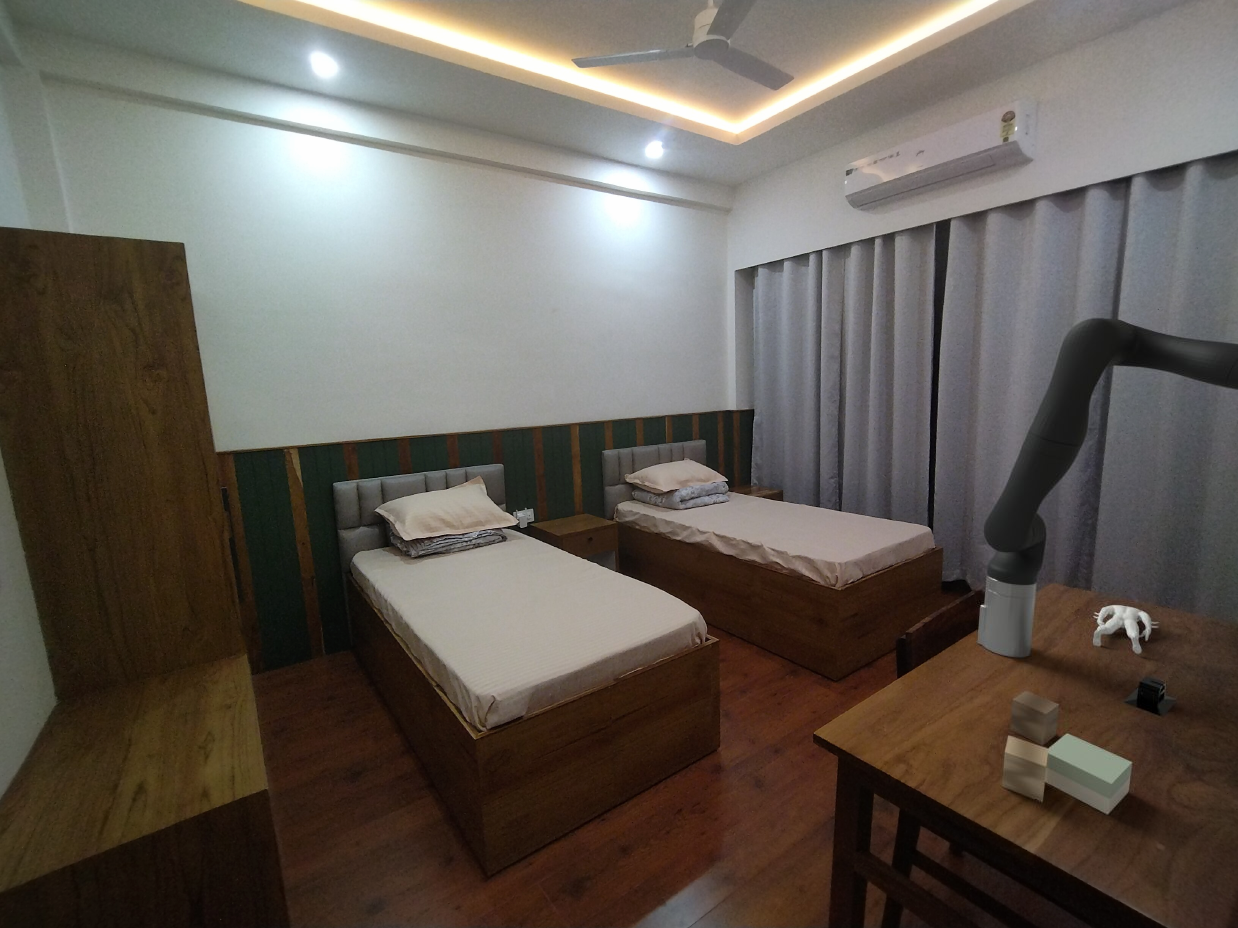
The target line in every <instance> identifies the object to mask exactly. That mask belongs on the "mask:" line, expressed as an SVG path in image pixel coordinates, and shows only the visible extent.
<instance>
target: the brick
mask: <svg viewBox="0 0 1238 928" xmlns="http://www.w3.org/2000/svg"><path fill="white" fill-rule="evenodd" d="M1006 740H1007V741H1006V744H1005V745H1006V746H1005V749H1004V756H1003V768H1002V781H1001V787H1003V788H1005V789H1006V790H1007V789H1008V790H1010V791H1012V792H1015V793H1018V794H1019V795H1022V796H1025V797H1028V798H1030V799H1033V800H1035V799H1037V800H1036V801H1038V800H1039V801H1038V802H1040V801H1041V803H1043V801H1044V794H1045V785H1046V784H1045V783H1046V782H1045V775H1046V765H1047V756H1048V748H1047V747H1044V746H1043V745H1040V744H1039V745H1038V744H1037V743H1036V744H1035V743H1032V742H1029V741H1026V740H1024V739H1020V738H1017V737H1015V736H1012V735H1008V736H1007V739H1006Z"/></svg>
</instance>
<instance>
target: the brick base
mask: <svg viewBox="0 0 1238 928" xmlns="http://www.w3.org/2000/svg"><path fill="white" fill-rule="evenodd" d="M1047 749H1048V756H1047V765H1046V775H1045V783H1047V784H1048V785H1051V786H1052V787H1055V788H1057V789H1058V790H1059V791H1062V792H1063V793H1066V794H1067V795H1069V796H1071V797H1074V798H1076V799H1077V800H1079V801H1081V802H1083V803H1085V804H1087V805H1089V806H1090V807H1092V808H1094V809H1096V810H1098V811H1099V812H1102V813H1104V814H1106V815H1109V814H1110V813H1111V812H1112V811H1113V810H1114V808H1115V807H1116V806H1117V805H1118V804H1119V803H1120V802H1121V801H1122V799H1124V798H1125V796H1126V795H1127V794H1129V790H1130V782H1131V777H1132V776H1131V775H1132V768H1133V761H1130V760H1128V759H1126V758H1123V757H1121V756H1119V755H1117V754H1114V753H1113V752H1110V751H1108V750H1105V749H1104V748H1102V747H1099V746H1096V745H1094V744H1092V743H1090V742H1088V741H1085V740H1084V739H1082V738H1079V737H1077V736H1075V735H1073V734H1069V733H1066V734H1064V735H1063V736H1061V737H1060V738H1059V739H1058V740H1056V742H1055V743H1053V744H1051V746H1049V748H1047Z"/></svg>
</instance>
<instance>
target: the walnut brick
mask: <svg viewBox="0 0 1238 928" xmlns="http://www.w3.org/2000/svg"><path fill="white" fill-rule="evenodd" d="M1059 710H1060V704H1059V703H1057V702H1054V701H1052V700H1049V699H1047V698H1045V697H1042V696H1040V695H1038V694H1035V693H1032V692H1031V691H1027V690H1025V691H1023V692H1021V693H1020V694H1019V695H1017V696H1016V697H1014V698H1013V699H1012V703H1011V715H1010V723H1009V731H1011V732H1014V733H1016V734H1018V735H1020V736H1022V737H1024V738H1027V739H1028V740H1031V741H1032V742H1035V743H1036V744H1039V745H1040V746H1045V745H1046V743H1048V742H1049V741H1050V740H1052V739H1053V738H1054V737H1056V736H1057V728H1058V719H1059Z"/></svg>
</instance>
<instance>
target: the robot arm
mask: <svg viewBox="0 0 1238 928" xmlns="http://www.w3.org/2000/svg"><path fill="white" fill-rule="evenodd" d="M1061 343H1062V344H1061V347H1060V350H1059V353H1058V357H1057V360H1056V363H1055V367H1054V370H1053V374H1052V375H1051V376H1052V377H1051V379H1050V381H1049V385H1048V388H1047V390H1046V393H1045V395H1044V396H1043V399H1042V400H1041V403H1040V405H1039V407H1038V409H1037V412H1036V415H1035V416H1034V419H1033V421H1032V423H1031V424H1030V427H1029V430H1028V432H1027V433H1026V436H1025V438H1024V441H1023V443H1022V445H1021V448H1020V450H1019V453H1018V456H1017V459H1016V460H1015V463H1014V465H1013V467H1012V469H1011V471H1010V475H1009V477H1008V480H1007V482H1006V484H1005V486H1004V488H1003V491H1002V492H1001V494H1000V496H999V498H998V500H997V501H996V503H995V504H994V506H993V507H992V509H991V510H990V511H991V512H990V513H989V514H988V516H987V518H986V520H985V522H984V525H983V536H984V539H985V541H986V543H987V544H988V546H990V547H991V548H992V549H993V550H995V551H996V552H995V553H994V556H993V557H992V558H991V559H990V561H989V562H988V563H987V567H986V579H985V580H986V583H985V594H984V603H983V604H981V605H980V607H979V619H978V630H977V631H978V633H977V634H978V635H977V644H979V645H982V647H984V648H985V649H987V650H988V651H990V652H993V653H995V654H998V655H1001V656H1005V657H1010V658H1024V657H1025V658H1026V657H1029V656H1030V654H1031V647H1032V637H1033V629H1034V628H1033V627H1034V616H1035V614H1034V613H1035V606H1036V604H1035V603H1036V593H1037V582H1038V575H1039V574H1040V573H1041V572H1040V571H1041V569H1042V567H1043V563H1044V556H1045V550H1046V542H1047V527H1046V523H1045V521H1044V519H1043V518H1042V516H1041V515H1040V514H1039V513H1038V511H1039V508H1040V506H1041V505H1042V503H1043V501H1044V499H1045V498H1046V497H1047V495H1049V493H1050V492H1051V491H1052V490H1053V488H1055V486H1057V484H1058V483H1060V481H1061V480H1062V479H1063V477H1064V476H1065V475H1066V474H1067V473H1068V471H1069V470H1070V469H1071V468H1072V466H1073V464H1074V463H1075V461H1076V459H1077V457H1078V454H1079V452H1080V450H1081V449H1082V447H1083V444H1084V442H1085V439H1086V437H1087V434H1088V430H1089V419H1090V405H1091V399H1092V396H1093V393H1094V391H1095V388H1096V386H1097V384H1098V383H1099V381H1100V379H1101V377H1102V375H1103V373H1104V372H1105V370H1106V368H1108V367H1112V366H1113V367H1114V366H1115V367H1117V366H1118V367H1131V368H1132V367H1133V368H1143V369H1151V370H1158V371H1163V372H1167V373H1171V374H1175V375H1178V376H1181V377H1184V378H1188V379H1191V380H1195V381H1198V382H1202V383H1206V384H1208V385H1213V386H1218V387H1223V388H1226V389H1231V390H1237V391H1238V343H1233V342H1225V341H1215V340H1214V341H1213V340H1205V339H1196V338H1188V337H1181V336H1176V335H1172V334H1166V333H1162V332H1159V331H1154V330H1152V329H1148V328H1144V327H1141V326H1138V325H1135V324H1132V323H1128V322H1127V321H1124V320H1121V319H1116V318H1103V317H1093V318H1087V319H1085V320H1082V321H1080V322H1078V323H1077V324H1075V325H1074V326H1072V328H1071V329H1070V330H1069V331H1068V332H1067V334H1066V335H1065V337H1064V339H1063V341H1062V342H1061Z"/></svg>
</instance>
